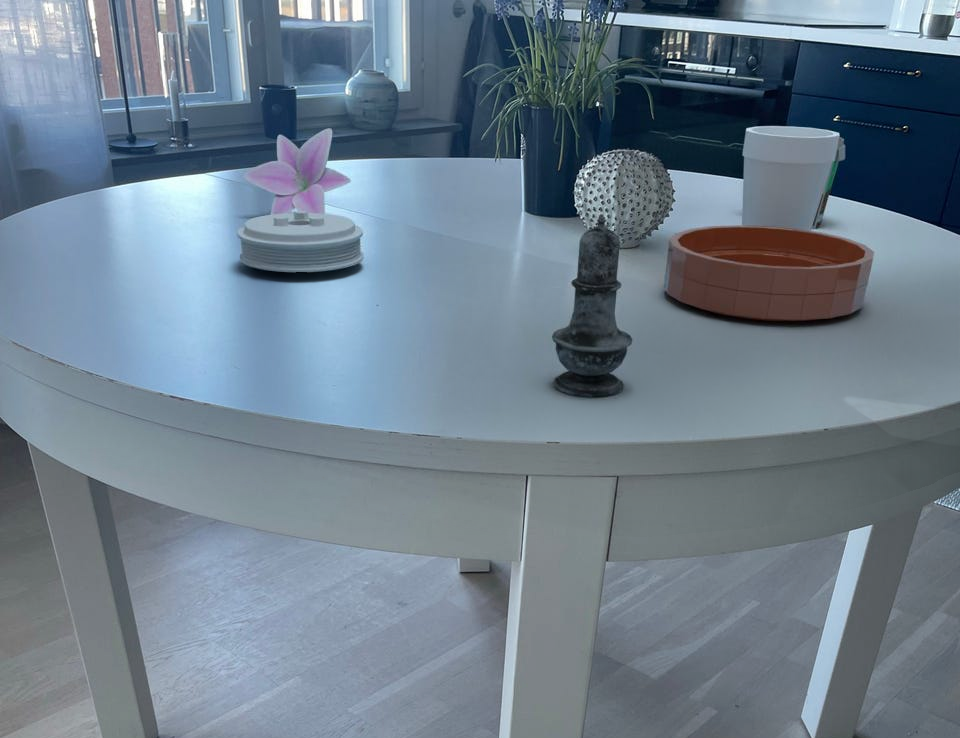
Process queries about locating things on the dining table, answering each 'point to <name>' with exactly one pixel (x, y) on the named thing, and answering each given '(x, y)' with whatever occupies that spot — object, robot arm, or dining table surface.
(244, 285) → the dining table surface
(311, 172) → the lily
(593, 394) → the salt shaker
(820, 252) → the bowl
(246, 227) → the lid
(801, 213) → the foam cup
